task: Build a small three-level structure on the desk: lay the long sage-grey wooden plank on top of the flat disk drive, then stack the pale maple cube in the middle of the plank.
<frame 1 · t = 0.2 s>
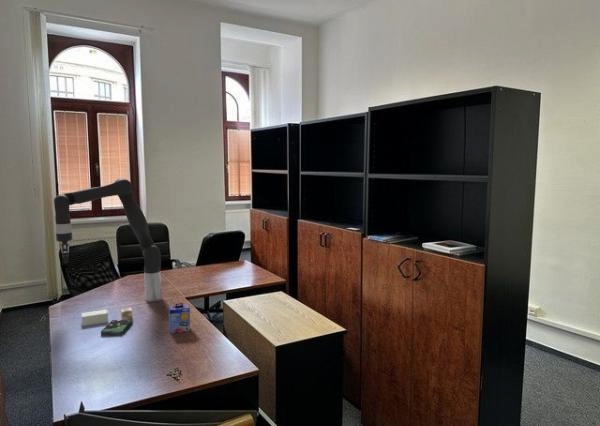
hand: (66, 261, 230), 29 cm above the table, tool pointing down, fingers open, 8 cm apart
ink cartridge box: (179, 330, 210), on the table
maple block: (126, 318, 225), on the table
sage plank: (95, 322, 221), on the table
disk drive: (117, 330, 211), on the table
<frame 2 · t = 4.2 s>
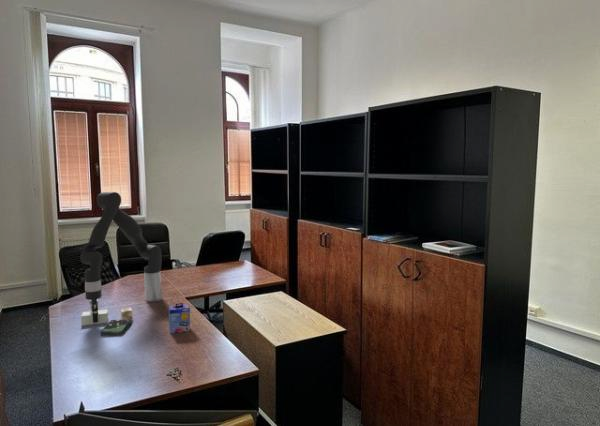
hand: (95, 320, 220), 1 cm above the table, tool pointing down, fingers closed on sage plank, 6 cm apart
sage plank: (95, 322, 220), on the table, touching gripper
when the fingers open (5 cm above the table, at t = 12.0 s): sage plank drops 2 cm, resting on disk drive.
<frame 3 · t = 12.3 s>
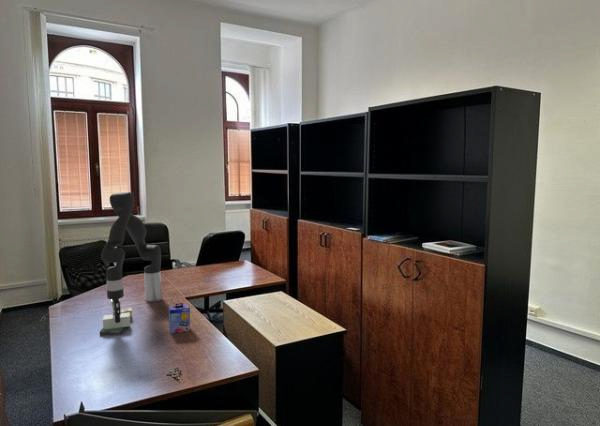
hand: (116, 319, 210), 5 cm above the table, tool pointing down, fingers open, 8 cm apart
sage plank: (117, 325, 211), point 2 cm above the table, touching disk drive
disk drive: (115, 330, 211), on the table, touching sage plank
everything else where it was.
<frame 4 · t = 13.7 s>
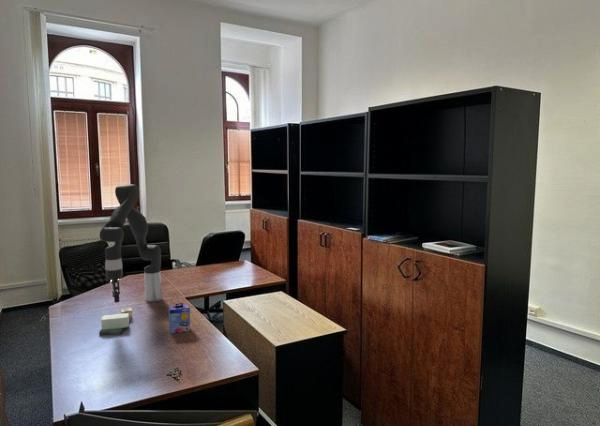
hand: (116, 299, 209), 15 cm above the table, tool pointing down, fingers open, 8 cm apart
nothing on the table moved.
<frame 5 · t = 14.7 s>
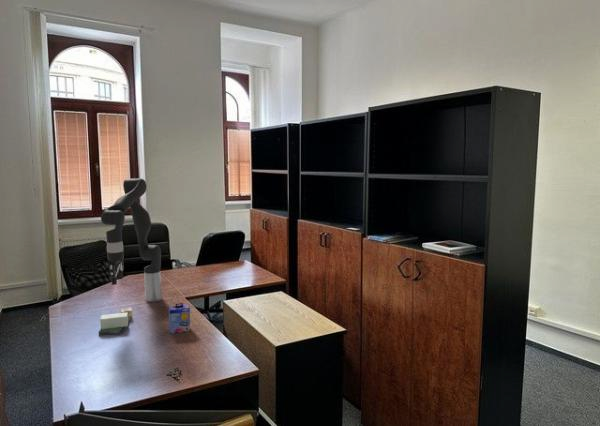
hand: (117, 281, 213), 23 cm above the table, tool pointing down, fingers open, 8 cm apart
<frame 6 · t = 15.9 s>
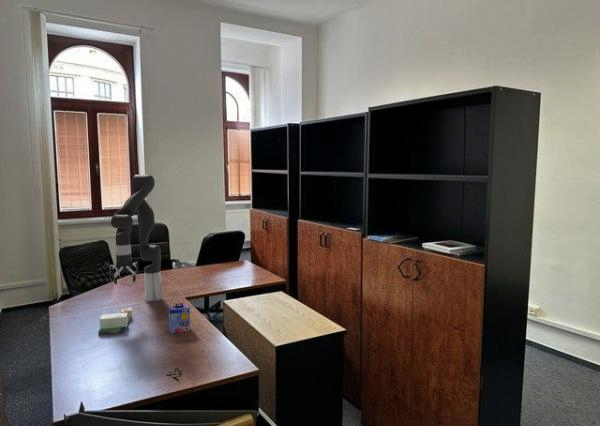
hand: (125, 283, 223), 19 cm above the table, tool pointing down, fingers open, 8 cm apart
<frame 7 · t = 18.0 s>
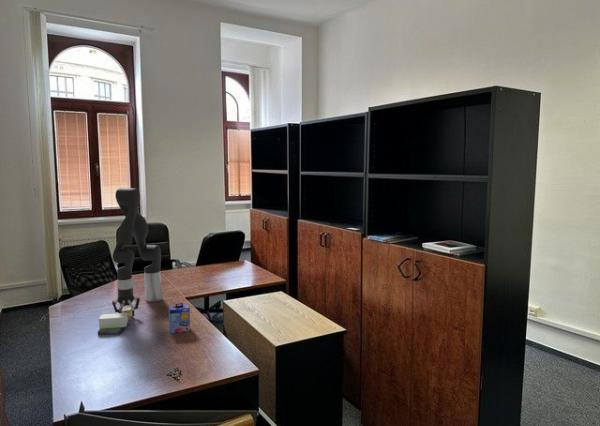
hand: (126, 317, 225), 0 cm above the table, tool pointing down, fingers closed on maple block, 5 cm apart
maple block: (126, 318, 225), on the table, touching gripper
when the fingers open (9 cm above the table, at t = 25.9 s): maple block drops 2 cm, resting on sage plank.
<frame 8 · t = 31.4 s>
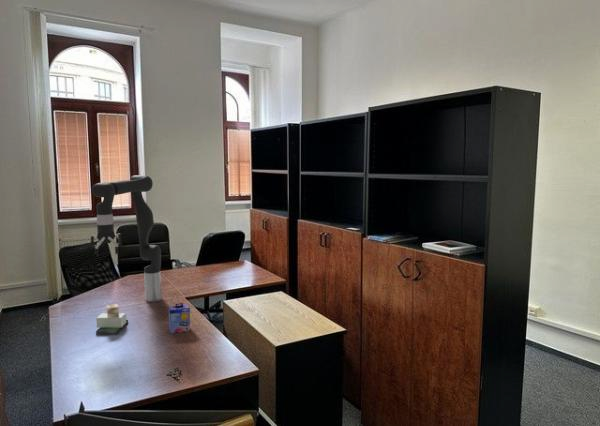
hand: (107, 254, 214), 36 cm above the table, tool pointing down, fingers open, 8 cm apart
maple block: (113, 315, 211), point 7 cm above the table, touching sage plank
sage plank: (111, 325, 212), point 2 cm above the table, touching disk drive, maple block
at the end: sage plank inside the target area on the disk drive (0.6 cm from its centre), point 2.8 cm above the disk drive's base; maple block inside the target area on the sage plank (1.2 cm from its centre), point 5.0 cm above the sage plank's base; maple block tilted 0° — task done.
